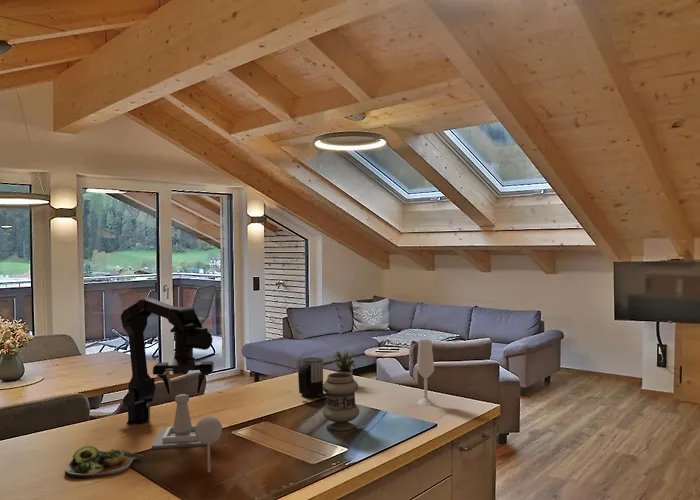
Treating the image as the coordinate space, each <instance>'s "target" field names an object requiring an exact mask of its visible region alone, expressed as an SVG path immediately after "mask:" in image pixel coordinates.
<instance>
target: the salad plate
mask: <svg viewBox="0 0 700 500" xmlns="http://www.w3.org/2000/svg"><path fill="white" fill-rule="evenodd" d="M143 457H144V455H143V454H138V453H133V452H131V451H128V450H126V449H125V450H123V449H119V450H118V449H110V451H109V450H108V451H103V450H99V449H97V448H96V447H95V446H90V445H85V446H82V447H80V448H78V449H77V450H76V451H75V452H74V454H73V455H72V460H71V461H70V462H69V464H68V466H67V467H66V468H65V470H64V475H66V476H67V477H69V478H71V479H89V478H97V477H103V476H105V477H106V476H109V475H116V474H119V473H122V472H123V471H126V470H127V469H129V468H130V466H131V465H132V463H133V461H135V460H137V459H141V458H143ZM111 468H116V469H113V470H108V469H111ZM104 470H108V471H104ZM102 471H103V472H102Z"/></svg>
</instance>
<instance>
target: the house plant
mask: <svg viewBox="0 0 700 500" xmlns="http://www.w3.org/2000/svg"><path fill="white" fill-rule="evenodd" d="M346 350H347V348H345V350H344V355H343V357H342V354H341V351H338V350H337V349H336V350H335V353H334V355H332V357H333V358H335V360H336V361H332V364H334V365H336V366H337V367H336V368H337V370H336V373H337V372H347V373H351V374H352V375H353V373H354V370H353V369H351V368H352V366H353V367H354V368H356V364H355V360H354V359H353V360H352V358H353V357H354V356H355V355H356V354H357V352H358V350H356V351H354V352H353V353H352V354H351V355H350V356H349V351H346ZM329 352H330V353H332V351H331V350H330V351H329Z"/></svg>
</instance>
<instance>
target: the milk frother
mask: <svg viewBox="0 0 700 500" xmlns="http://www.w3.org/2000/svg"><path fill="white" fill-rule="evenodd" d="M301 361H302V362H301V366H300V367H299V368H298V374H297V375H298V376H297V377H298V380H297V381H298V392H299V394H301V397H303V398H307V399H317V398H326V392H325V393H324V390H323V384H324V358H322V357H316V356H315V357H313V356H311V357H304V358H301Z"/></svg>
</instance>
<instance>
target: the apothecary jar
mask: <svg viewBox="0 0 700 500" xmlns="http://www.w3.org/2000/svg"><path fill="white" fill-rule="evenodd" d="M326 378H327V379H326V381H325V382H323V392H325V393H326V397H325V398H326V404H325V406H324V407H323V410H322V414H323V416H324V418H325V419H326V420H328V421H330V422H332V423H329V424H327V426H326V430H327V431H328V432H331V433H333V434H349V433H350V434H351V433H352V432H354V431H356V429H357V426H356V425H355V424H354V423H352V421H353V420H355V419H356V418H357V417H358V416H359V414H360V408H359V406H357V404H356V392H357V391H358V390H359V384H358V382H357V381H356V380H354V375H353V374H351V373H347V372H337V371H336V372H332V373H329V374H327V377H326Z"/></svg>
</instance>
